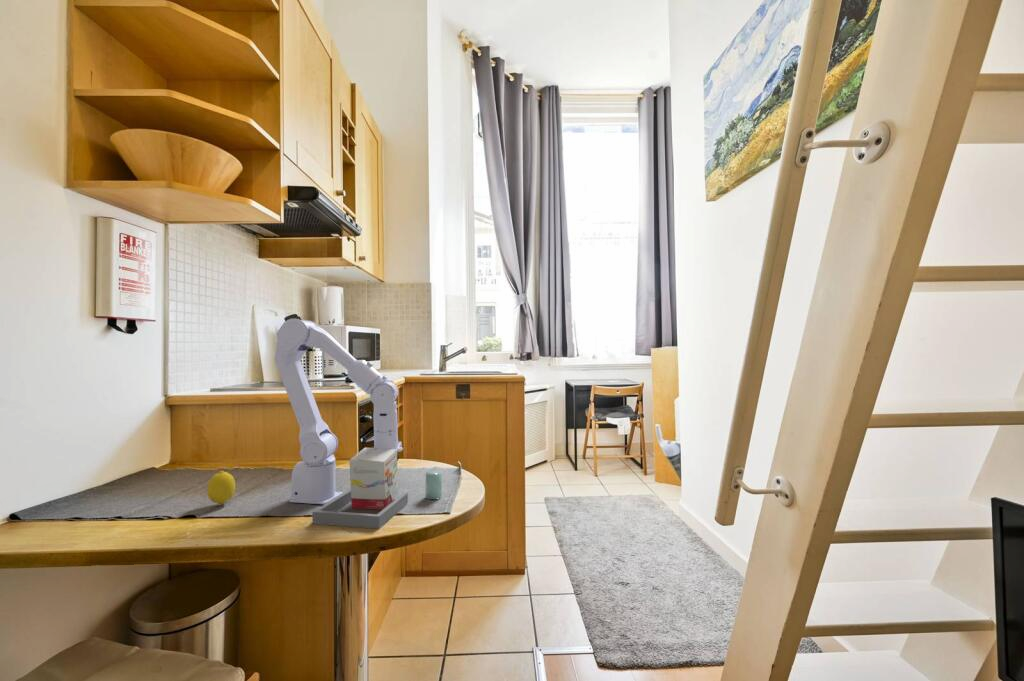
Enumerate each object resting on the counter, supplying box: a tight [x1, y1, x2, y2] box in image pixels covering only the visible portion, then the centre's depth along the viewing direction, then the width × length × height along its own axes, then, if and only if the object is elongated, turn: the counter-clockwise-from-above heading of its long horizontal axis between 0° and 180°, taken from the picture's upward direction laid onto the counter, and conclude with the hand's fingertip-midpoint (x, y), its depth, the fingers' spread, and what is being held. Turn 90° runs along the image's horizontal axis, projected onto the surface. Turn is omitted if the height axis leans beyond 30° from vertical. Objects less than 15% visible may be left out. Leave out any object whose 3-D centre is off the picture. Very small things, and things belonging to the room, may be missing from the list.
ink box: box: [349, 446, 399, 511], centre depth 109 cm, size 9×9×12 cm
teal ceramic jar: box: [424, 470, 443, 500], centre depth 114 cm, size 4×4×6 cm
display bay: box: [311, 489, 409, 530], centre depth 103 cm, size 15×15×2 cm
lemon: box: [206, 470, 236, 505], centre depth 108 cm, size 6×6×8 cm
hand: (387, 485), depth 114 cm, fingers closed, pressing on ink box
